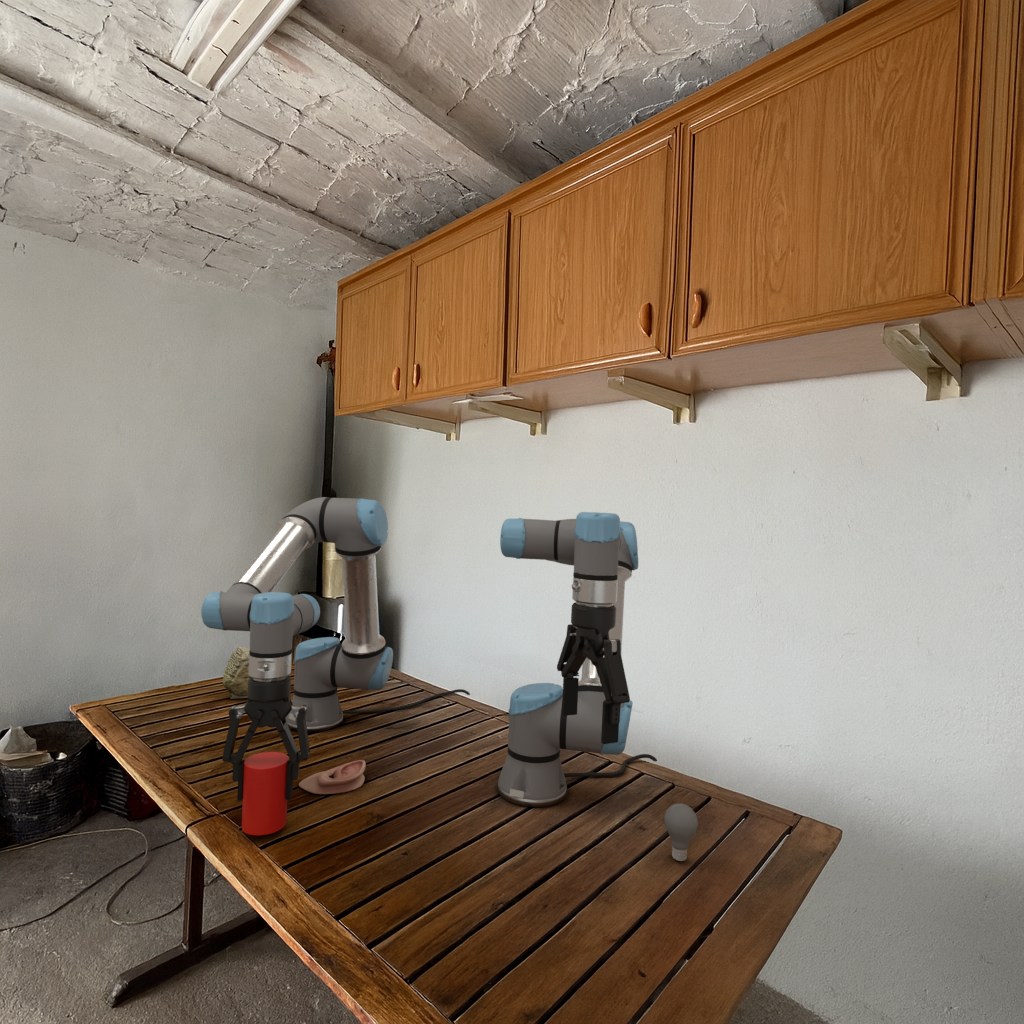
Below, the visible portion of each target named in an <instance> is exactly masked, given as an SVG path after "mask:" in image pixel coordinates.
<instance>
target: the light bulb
mask: <svg viewBox="0 0 1024 1024" xmlns="http://www.w3.org/2000/svg"><path fill="white" fill-rule="evenodd" d="M663 822H664V828H665V829H666V831H667V833H668V835H669V838H670V844H671V846H672V847H671V848H672V849H671V857H672V858H673V859H674V860H676V861H678V862H684V861H686V860H687V855H688V848H689V846H690V844H691V843H690V842H691V841H692V838H693V837H694V836H695V834H696V833H697V831H698V827H699V820H698V816H697V814H696V812H695V811H694V810H693V809H692V808H691V807H690V806H689V805H688V804H684V803H680V802H679V803H673V804H671V805H670V806H669V807H668V808H667V809H666V811H665V814H664V816H663Z"/></svg>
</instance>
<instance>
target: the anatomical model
mask: <svg viewBox="0 0 1024 1024" xmlns="http://www.w3.org/2000/svg"><path fill="white" fill-rule="evenodd" d="M366 766H367V764H366V761H365V760H364V759H359V760H353V761H350V762H347V763H344V764H341V765H338V766H336V767H332V768H330V769H326V770H324V771H319V772H316V773H314V774H312V775H309V776H307V777H305V778H303V779H302V780H300V781H299V783H298V787H299V788H301V789H303V790H304V791H306V792H309V793H311V794H314V795H330V794H331V795H332V794H340V793H346V792H350V791H353V790H356V789H359V788H360V787H362V786H363V784H364V783H365V779H366V777H365V775H364V772H365V770H366Z"/></svg>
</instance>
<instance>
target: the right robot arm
mask: <svg viewBox="0 0 1024 1024" xmlns="http://www.w3.org/2000/svg"><path fill="white" fill-rule="evenodd" d="M500 528H501V529H500V538H499V544H500V545H499V546H500V552H501V554H502V556H504V557H505V558H511V559H517V560H520V559H521V560H539V561H540V560H542V561H547V562H548V561H549V562H553V563H558V564H561V565H565V566H566V565H567V566H572V567H573V576H572V577H573V579H572V584H571V588H572V596H571V597H572V598H571V599H572V600H573V601H574V602H573V603H572V604H571V609H570V610H571V614H570V623H569V624H567V627H566V636H565V640H564V643H563V646H562V648H561V652H560V654H559V658H558V661H557V664H556V670H557V672H561V673H560V675H561V677H562V680H563V683H562V685H560V684H555V683H550V682H537V683H535V682H534V683H530V684H525V685H522V686H520V687H518V688H516V689H515V690H514V691H513V692H512V693H511V695H510V701H509V708H508V733H507V734H508V736H507V740H508V741H507V755H506V757H505V760H504V763H503V766H502V769H501V772H500V774H499V777H498V781H497V793H498V795H500V796H501V797H502V798H503V799H504V800H506V801H508V802H510V803H512V804H515V805H519V806H522V807H528V808H544V807H549V806H553V805H557V804H559V803H560V802H562V801H563V800H564V799H566V797H567V791H568V790H567V789H568V785H567V780H566V778H587V777H588V778H590V777H592V778H594V777H595V778H597V777H599V778H600V777H601V778H607V777H616V776H620V775H622V774H624V772H625V771H626V768H627V764H629V763H632V762H634V761H638V760H640V759H650V760H651V761H653V762H658V759H657V757H655V756H654V755H653V754H652V755H651V754H649V753H641V754H637V755H633V756H631V757H629V758H626V759H625V760H623V762H622V763H621V768H619V770H615V771H609V772H596V771H595V772H593V771H592V772H590V771H589V772H564V768H563V765H562V761H561V750H567V751H574V752H584V753H591V754H599V755H601V756H603V755H613V756H618V755H621V754H623V752H624V751H625V749H626V746H627V745H626V744H627V739H628V734H629V733H628V732H629V726H630V721H631V715H632V711H633V700H631V697H630V692H629V686H628V683H627V682H628V681H627V677H626V672H625V668H624V663H623V657H622V650H623V629H624V626H623V625H624V611H625V610H624V609H625V589H626V587H625V586H626V582H627V581H628V580H629V579H631V578H632V576H633V571H636V570H638V569H639V549H638V537H637V531H636V527H635V525H634V524H633V523H632V522H630V521H621V518H620V515H619V514H617V513H612V512H598V511H597V512H596V511H595V512H594V511H593V512H592V511H580V512H579V513H578V514H576V516H575V518H566V519H556V520H553V519H552V520H551V519H539V518H538V519H535V518H534V519H533V518H523V517H518V518H506V519H505V520H503V522H502V524H501V527H500ZM580 670H581V678H579V677H580V673H579V671H580ZM579 679H580V680H579Z"/></svg>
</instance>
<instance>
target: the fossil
mask: <svg viewBox="0 0 1024 1024" xmlns="http://www.w3.org/2000/svg"><path fill="white" fill-rule="evenodd" d="M249 650H250V647H247V646H246V647H245V646H238V647H237V648H236V649H235V650H233V651H232V653H231V656H230V657H229V659H228V660H227V663H226V666H225V668H224V671H223V675H222V676H223V677H222V685H223V687H224V688H225V690H226V691H228V693H229V698H230V699H248V680H249V679H250V678H251V677H250V676H249V674H248V672H249Z"/></svg>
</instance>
